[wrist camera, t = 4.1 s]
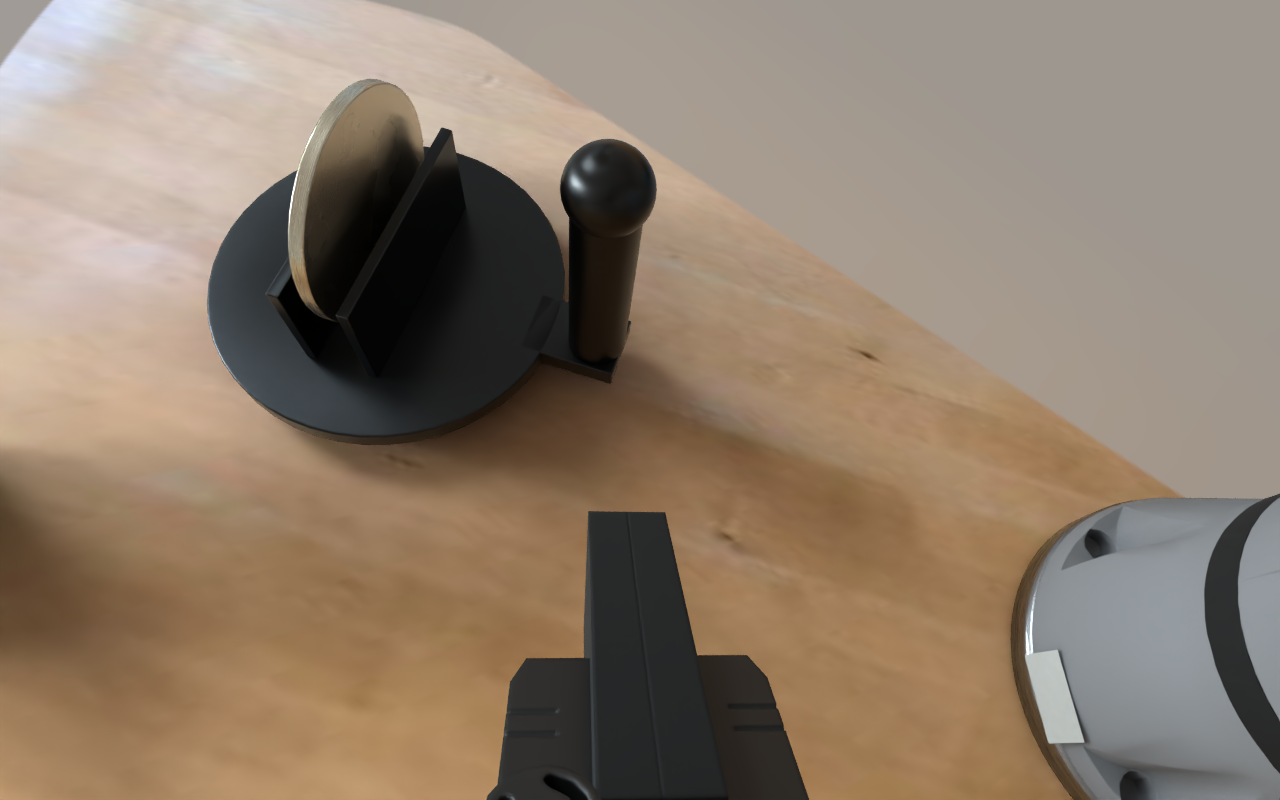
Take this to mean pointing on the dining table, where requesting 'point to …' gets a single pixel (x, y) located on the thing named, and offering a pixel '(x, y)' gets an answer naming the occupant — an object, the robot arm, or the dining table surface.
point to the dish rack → (420, 277)
